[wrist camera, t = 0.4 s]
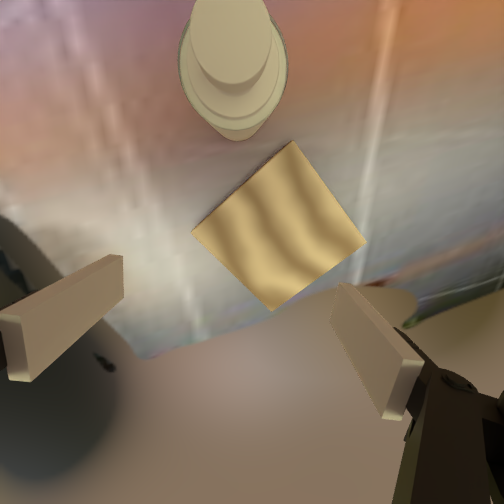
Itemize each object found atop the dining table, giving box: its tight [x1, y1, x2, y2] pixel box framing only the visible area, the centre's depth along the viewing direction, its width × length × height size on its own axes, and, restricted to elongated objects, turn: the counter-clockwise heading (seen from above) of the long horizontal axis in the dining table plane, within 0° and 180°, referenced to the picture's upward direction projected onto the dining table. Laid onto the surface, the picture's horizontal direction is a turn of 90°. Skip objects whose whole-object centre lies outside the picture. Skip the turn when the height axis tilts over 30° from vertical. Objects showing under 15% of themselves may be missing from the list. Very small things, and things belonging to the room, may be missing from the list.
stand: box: [191, 140, 367, 312], centre depth 36 cm, size 18×18×4 cm
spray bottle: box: [178, 0, 288, 141], centre depth 20 cm, size 7×7×25 cm
